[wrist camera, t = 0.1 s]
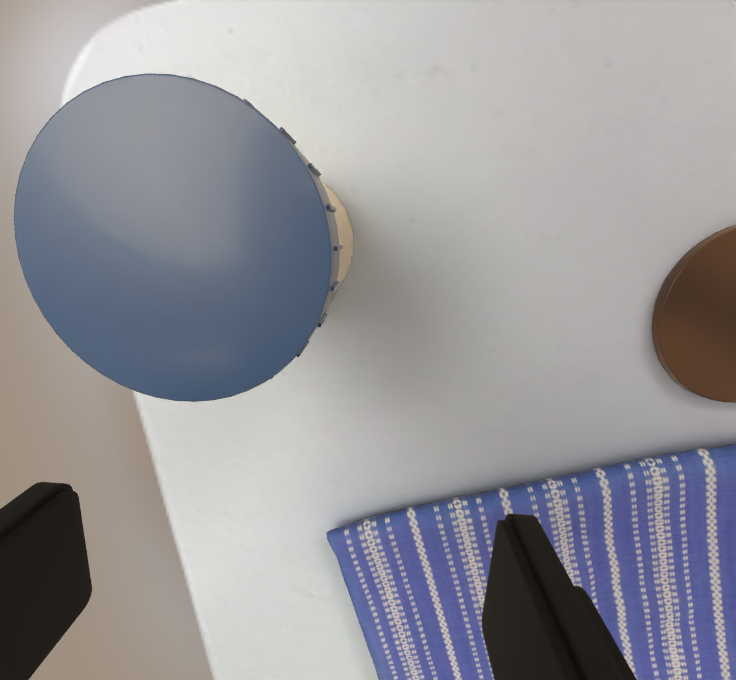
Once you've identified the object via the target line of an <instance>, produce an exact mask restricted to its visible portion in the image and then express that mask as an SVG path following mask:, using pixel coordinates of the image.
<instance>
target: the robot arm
mask: <svg viewBox="0 0 736 680" xmlns="http://www.w3.org/2000/svg"><path fill="white" fill-rule="evenodd" d="M91 592H92V585H91V579H90V571H89V565H88V558H87V551H86V544H85V537H84V531H83V524H82V518H81V510H80V504H79V497H78V494H77V493H76V492H74V491H73V489H72V487H71V486H70V485H68V484H63V483H48V482H40V483H36V484H35V485H33V486H31V487H30V488H29V489H27V490H26V491H24V492H23V493H22V494H20V495H19V496H18V497H16V498H15V499H14V500H12V501H11V502H10V503H8V504H7V505H5V506H4V507H3V508H1V509H0V680H28V679H29V678H30V677H31V676H32V674H33V673H34V672H35V670H36V669H37V668H38V667H39V665H40V664H41V663H42V662H43V660H44V659H45V658H46V657H47V655H48V654H49V653H50V651H51V650H52V649H53V648H54V646H55V645H56V644H57V643H58V641H59V640H60V639H61V637H62V636H63V635H64V633H65V632H66V631H67V630H68V629H69V627H70V626H71V625H72V623H73V622H74V621H75V619H76V618H77V617H78V616H79V615H80V613H81V612H82V611H83V609H84V608H85V607H86V605H87V603H88V601H89V599H90V596H91ZM482 631H483V637H484V641H485V645H486V649H487V652H488V656H489V660H490V664H491V668H492V672H493V676H494V680H637V679H636V677H635V675H634V674H633V672H632V670H631V668H630V667H629V665H628V663H627V661H626V660H625V658H624V656H623V654H622V653H621V651H620V649H619V647H618V646H617V644H616V642H615V640H614V639H613V637H612V635H611V633H610V632H609V630H608V628H607V626H606V625H605V623H604V621H603V619H602V618H601V616H600V614H599V612H598V611H597V609H596V607H595V605H594V604H593V602H592V600H591V598H590V597H589V595H588V594H587V592H586V591H585V590H584V589H583V588H581V587H580V586H574V585H573V583H572V581H571V579H570V578H569V576H568V574H567V572H566V570H565V568H564V567H563V565H562V563H561V561H560V559H559V557H558V556H557V554H556V552H555V550H554V548H553V546H552V545H551V543H550V541H549V539H548V537H547V535H546V534H545V532H544V530H543V528H542V526H541V524H540V522H539V521H538V519H537V518H536V516H534V515H524V514H507V515H506V517H505V520H498V522H497V525H496V531H495V538H494V544H493V550H492V556H491V562H490V569H489V575H488V581H487V587H486V593H485V600H484V606H483V612H482Z"/></svg>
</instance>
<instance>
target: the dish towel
mask: <svg viewBox="0 0 736 680" xmlns="http://www.w3.org/2000/svg"><path fill="white" fill-rule="evenodd" d="M507 514H524V515H534V516H536V518H537V519H538V521H539V522H540V524H541V526H542V528H543V530H544V532H545V534H546V535H547V537H548V539H549V541H550V543H551V545H552V546H553V548H554V550H555V552H556V554H557V556H558V557H559V559H560V561H561V563H562V565H563V567H564V568H565V570H566V572H567V574H568V576H569V578H570V579H571V581H572V583H573V585H574V586H580V587H581V588H583V589H584V590H585V591H586V592H587V594H588V595H589V597H590V598H591V600H592V602H593V604H594V605H595V607H596V609H597V611H598V612H599V614H600V616H601V618H602V619H603V621H604V623H605V625H606V626H607V628H608V630H609V632H610V633H611V635H612V637H613V639H614V640H615V642H616V644H617V646H618V647H619V649H620V651H621V653H622V654H623V656H624V658H625V660H626V661H627V663H628V665H629V667H630V668H631V670H632V672H633V674H634V675H635V677H636V679H637V680H736V444H732V445H727V446H723V447H715V448H706V449H704V448H699V449H693V450H690V451H685V452H679V453H668V454H665V455H662V456H652V457H647V458H642V459H636V460H634V461H629V462H621V463H618V464H615V465H611V466H606V467H597V468H593V469H591V470H589V471H586V472H582V473H576V474H567V475H565V476H557V477H552V478H547V479H543V480H540V481H536V482H532V483H525V484H523V485H520V486H513V487H503V488H498V489H496V490H493V491H490V492H485V493H478V494H474V495H469V496H459V497H453V498H450V499H447V500H444V501H434V502H431V503H429V504H425V505H421V506H412V507H407V508H405V509H403V510H399V511H396V512H391V513H385V514H383V515H380V516H373V517H369V518H365V519H363V520H360V521H358V522H355V523H352V524H348V525H345V526H343V527H339V528H335V529H333V530H330V531H328V532H327V534H326V535H327V539H328V541H329V543H330V545H331V547H332V549H333V551H334V553H335V555H336V557H337V559H338V562H339V565H340V569H341V572H342V575H343V578H344V581H345V583H346V586H347V588H348V591H349V594H350V597H351V600H352V602H353V606H354V609H355V611H356V614H357V617H358V620H359V623H360V626H361V629H362V631H363V634H364V637H365V640H366V643H367V646H368V648H369V651H370V654H371V657H372V659H373V662H374V665H375V668H376V671H377V675H378V678H379V680H494V676H493V672H492V668H491V664H490V660H489V656H488V652H487V649H486V645H485V641H484V637H483V631H482V612H483V606H484V600H485V593H486V587H487V581H488V575H489V569H490V562H491V556H492V550H493V544H494V538H495V531H496V525H497V522H498V520H505V517H506V515H507Z"/></svg>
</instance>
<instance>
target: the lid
mask: <svg viewBox="0 0 736 680" xmlns="http://www.w3.org/2000/svg"><path fill="white" fill-rule="evenodd" d="M295 143H296V141H295V140H294V139H293V138H292V137H291V136H290V135H289V134H288V133H287V132H286V131H285V130H284V129H283V128H282V127H281V128H280V129H278V128H277V127H276V126H275V125H274V124H273V123H272V122H271V121H269V120H268V119H267V118H266V117H265V116H264V115H263V114H261V113H260V112H259V111H258V110H257V109H256V108H255V107H254V106H253V105H251V104H250V103H249V102H248V101H247V100H245V99H244V100H242V99H240V98H239V97H237V96H235V95H233V94H231V93H229V92H227V91H225V90H223V89H221V88H219V87H217V86H214V85H211V84H208V83H205V82H202V81H199V80H196V79H193V78H188V77H182V76H177V75H171V74H140V75H132V76H124V77H121V78H117V79H114V80H110V81H106V82H103V83H101V84H99V85H97V86H94V87H92V88H90V89H88V90H86V91H84V92H82V93H81V94H79V95H78V96H76V97H75V98H73V99H72V100H70V101H69V102H68V103H66V104H65V105H64V106H63V107H62V108H61V109H60V110H59V111H58V112H56V113H55V115H53V116H52V117H51V118H50V120H49V121H48V122H47V123H46V125H45V126H44V127H43V129H42V130H41V131H40V132H39V134H38V135H37V137H36V139H35V141H34V142H33V144H32V146H31V148H30V150H29V152H28V153H27V156H26V159H25V162H24V164H23V167H22V170H21V172H20V176H19V181H18V185H17V190H16V196H15V208H14V225H15V239H16V245H17V250H18V257H19V260H20V264H21V267H22V270H23V274H24V277H25V280H26V282H27V284H28V287H29V289H30V291H31V293H32V296H33V298H34V300H35V302H36V303H37V305H38V307H39V309H40V310H41V312H42V314H43V316H44V317H45V318H46V320H47V321H48V323H49V324H50V326H51V327H52V328H53V330H54V331H55V332H56V334H57V335H58V336H59V337H60V338H61V339H62V340H63V341H64V343H65V344H66V345H67V346H68V347H69V348H70V349H71V350H72V351H73V352H74V353H75V354H76V355H78V356H79V357H80V358H81V359H82V360H83V361H84V362H85V363H87V364H88V365H90V366H91V367H92V368H94V369H95V370H97V371H98V372H99V373H101V374H102V375H104V376H106V377H107V378H109V379H111V380H113V381H115V382H116V383H118V384H120V385H123V386H125V387H127V388H130V389H132V390H134V391H137V392H140V393H143V394H146V395H150V396H153V397H157V398H162V399H168V400H174V401H192V402H196V401H209V400H216V399H221V398H226V397H231V396H234V395H237V394H240V393H243V392H246V391H248V390H250V389H252V388H254V387H256V386H258V385H260V384H262V383H264V382H266V381H267V380H269V379H271V378H273V377H274V375H276V374H277V373H279V372H280V371H281V370H282V369H283V368H284V367H286V366H287V365H288V364H289V363H290V362H291V361H292V360H293V359H294V358H295V357H296V356H297V357H299V356H300V355H301V353H302V352H303V350H304V349H305V347H306V346H307V344H308V343H309V341H308V340H309V339H310V337H311V336H312V334H313V333H314V331H315V330H316V328H317V327H321V325H322V324H323V322H324V321H325V319H326V318H327V316H328V314H327V313H326V311H327V309H328V307H329V304H330V302H331V300H332V297H333V293H334V290H335V289H336V288H337V287H338V285H339V283H340V281H337V277H338V271H339V258H340V250H341V249H343V247H342V245H339V235H338V227H337V223H336V219H335V215H334V212H336V207H334V206H332V205H331V202H330V200H329V197H328V194H327V192H326V190H325V188H324V186H323V184H322V182H321V180H320V178H319V176H320V175H321V174H320V172H319V171H318V170H317V169H316V168H315V167H314V166H313V165H312V164H311V163H309V162H308V160H307V159H306V157H305V156H304V155H303V154H302V153H301V152H300V151H299V150H298V149H297V147H296V146H295Z"/></svg>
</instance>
